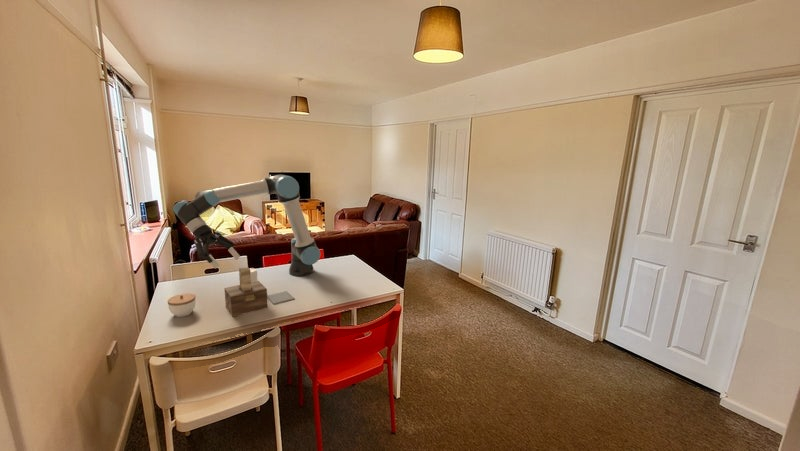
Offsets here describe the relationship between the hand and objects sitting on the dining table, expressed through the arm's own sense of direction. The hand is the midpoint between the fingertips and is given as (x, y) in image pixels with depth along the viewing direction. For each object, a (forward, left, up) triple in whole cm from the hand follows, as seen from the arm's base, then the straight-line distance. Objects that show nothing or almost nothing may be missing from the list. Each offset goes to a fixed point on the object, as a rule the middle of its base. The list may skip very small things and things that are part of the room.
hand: (228, 262), depth 155 cm
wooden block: (+7, +5, -16) cm, 18 cm away
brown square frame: (+7, +5, -22) cm, 24 cm away
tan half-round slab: (-12, +12, -23) cm, 29 cm away
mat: (+6, +22, -22) cm, 32 cm away
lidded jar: (-3, -20, -23) cm, 30 cm away
